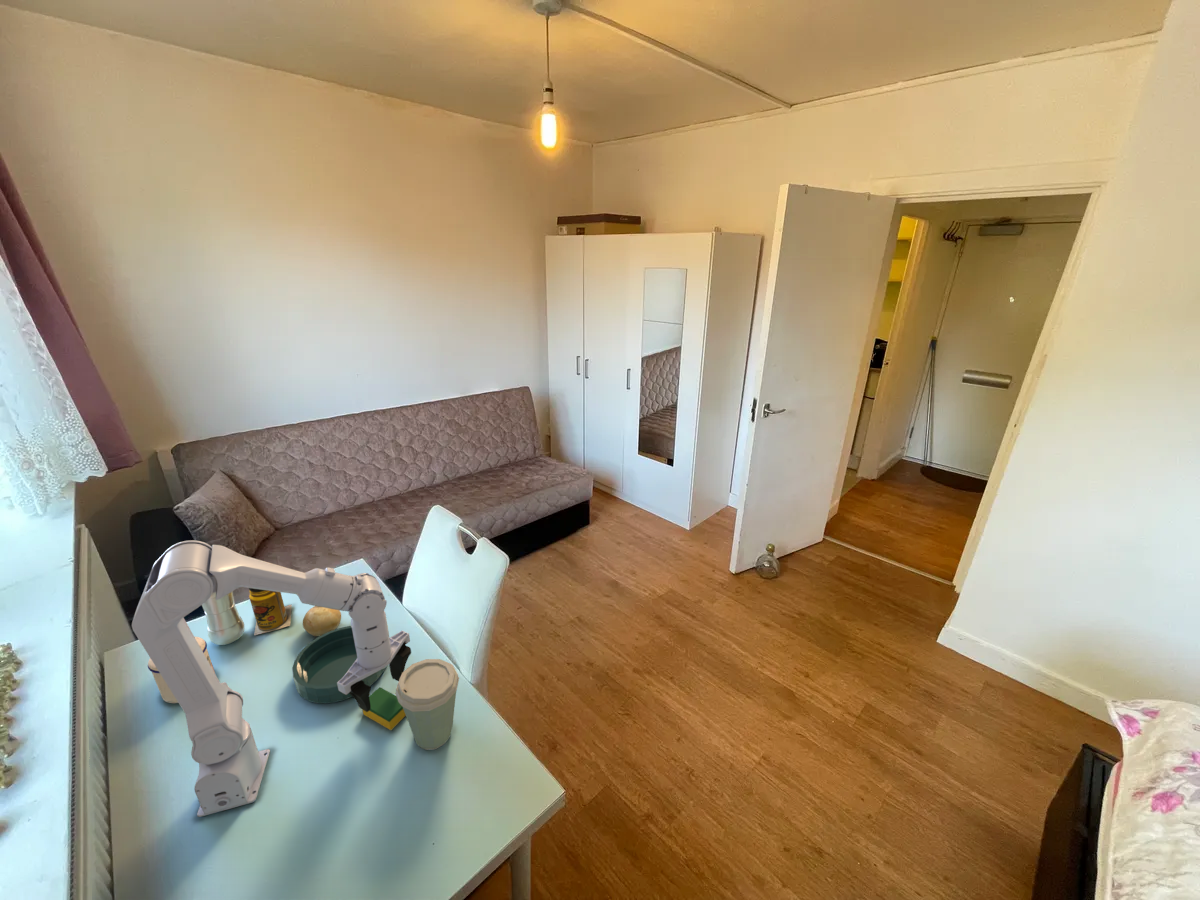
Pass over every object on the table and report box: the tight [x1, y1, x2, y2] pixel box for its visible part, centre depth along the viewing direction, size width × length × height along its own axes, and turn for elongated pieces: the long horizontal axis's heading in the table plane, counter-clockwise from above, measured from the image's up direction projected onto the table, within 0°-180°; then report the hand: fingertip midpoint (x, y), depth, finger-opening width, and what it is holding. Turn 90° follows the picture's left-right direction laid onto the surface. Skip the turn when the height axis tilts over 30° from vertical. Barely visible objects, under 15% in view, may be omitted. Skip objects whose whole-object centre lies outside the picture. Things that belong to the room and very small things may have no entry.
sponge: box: [362, 686, 406, 731], centre depth 95 cm, size 8×4×3 cm, turn 64°
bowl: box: [291, 625, 386, 704], centre depth 104 cm, size 18×18×4 cm
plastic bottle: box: [201, 591, 245, 646], centre depth 109 cm, size 6×7×20 cm
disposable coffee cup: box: [394, 658, 460, 751], centre depth 89 cm, size 11×11×15 cm
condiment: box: [248, 588, 293, 636], centre depth 116 cm, size 7×8×12 cm
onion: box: [302, 605, 342, 638], centre depth 115 cm, size 8×8×7 cm
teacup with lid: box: [147, 636, 216, 704], centre depth 99 cm, size 12×9×12 cm
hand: (381, 693), depth 94 cm, fingers open, 7 cm apart
